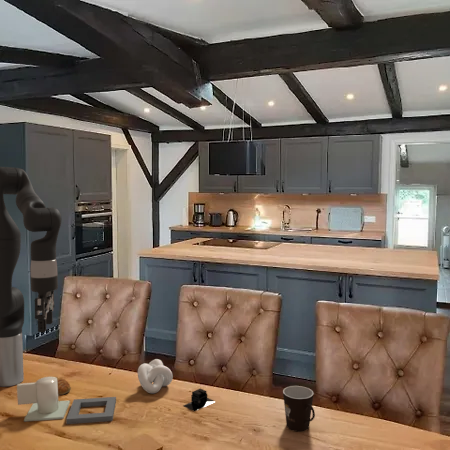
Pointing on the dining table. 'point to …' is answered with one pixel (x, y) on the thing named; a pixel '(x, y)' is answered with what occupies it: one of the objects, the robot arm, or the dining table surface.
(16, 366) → the robot arm
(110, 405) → the socket
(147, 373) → the white knot sculpture
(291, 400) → the coffee mug
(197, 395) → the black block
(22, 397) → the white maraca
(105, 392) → the dining table surface
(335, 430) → the dining table surface
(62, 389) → the pastry
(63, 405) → the trivet
